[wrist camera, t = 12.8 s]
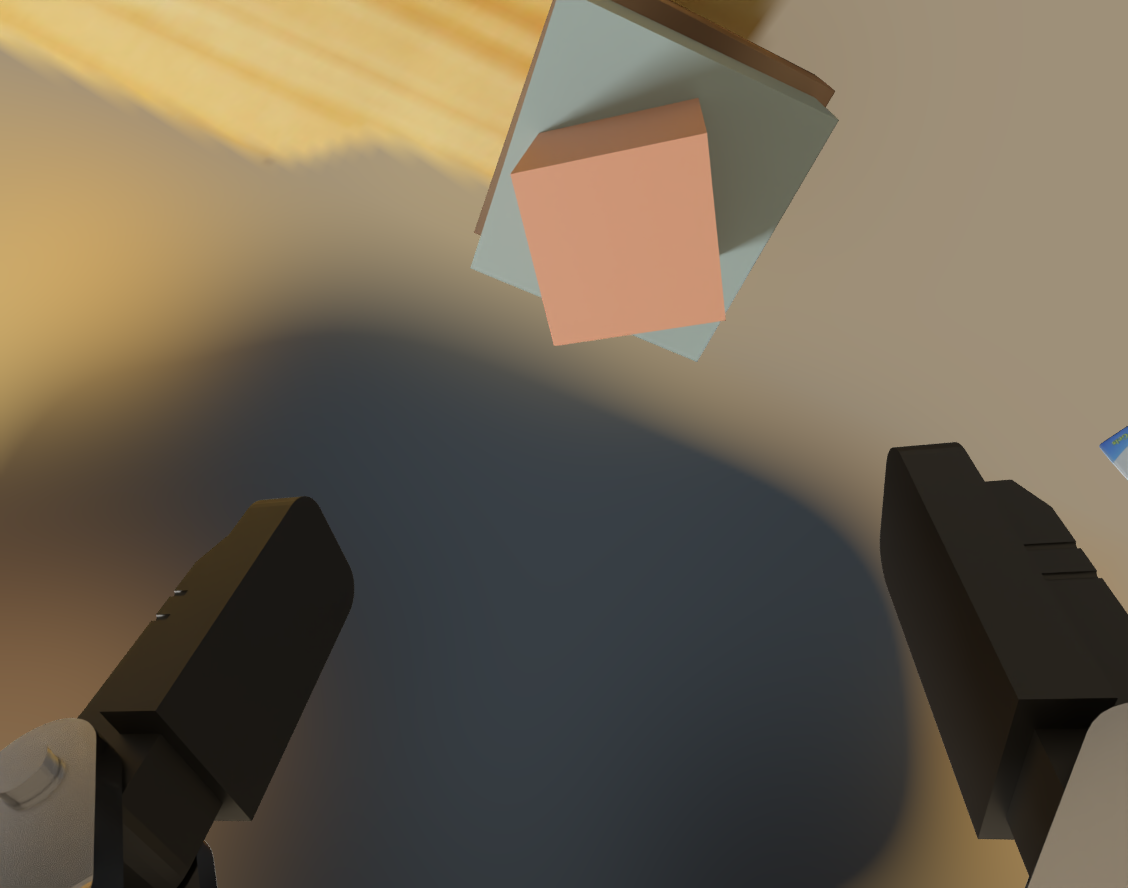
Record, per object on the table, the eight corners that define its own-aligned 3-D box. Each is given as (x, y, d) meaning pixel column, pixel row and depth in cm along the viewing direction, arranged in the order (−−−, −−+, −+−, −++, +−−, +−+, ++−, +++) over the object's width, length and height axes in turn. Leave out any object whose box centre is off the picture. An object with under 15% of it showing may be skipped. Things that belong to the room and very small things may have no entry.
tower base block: (493, 203, 31) (474, 232, 28) (580, -47, 25) (568, -46, 22) (689, 292, 33) (693, 329, 29) (814, 74, 27) (835, 91, 24)
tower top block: (492, 231, 28) (470, 267, 25) (574, -18, 23) (560, -13, 19) (692, 316, 29) (697, 361, 26) (814, 97, 24) (838, 120, 21)
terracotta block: (572, 281, 24) (553, 346, 20) (538, 133, 22) (510, 173, 18) (714, 257, 23) (725, 320, 19) (698, 97, 21) (706, 132, 17)
